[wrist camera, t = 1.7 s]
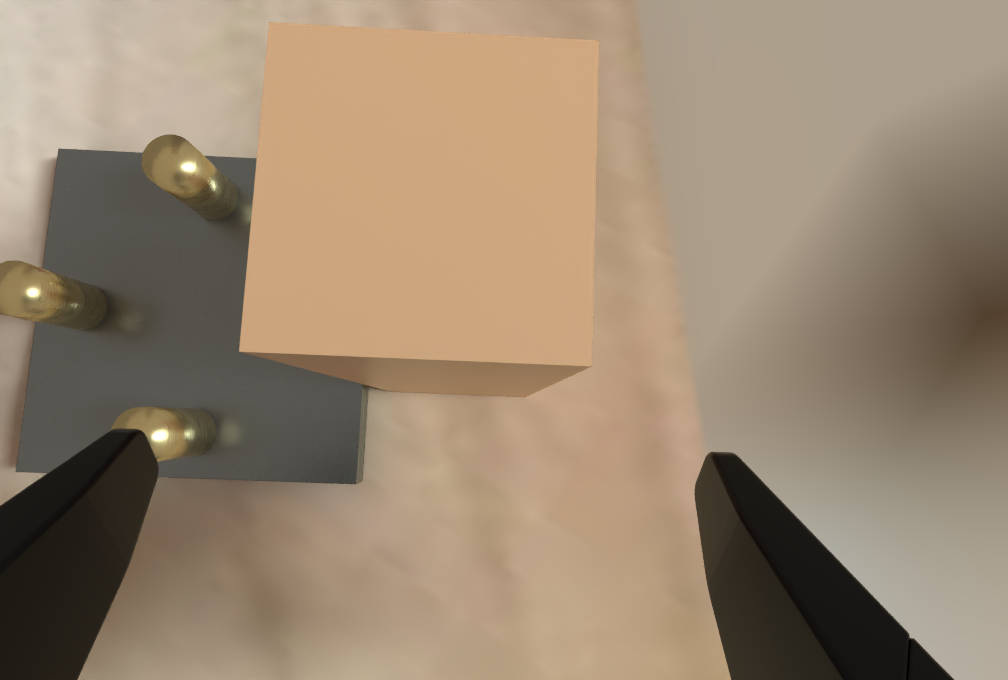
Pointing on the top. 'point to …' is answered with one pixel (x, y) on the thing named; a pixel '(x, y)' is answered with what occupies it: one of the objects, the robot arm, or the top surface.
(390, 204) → the block
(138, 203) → the chassis
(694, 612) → the top surface
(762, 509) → the robot arm
